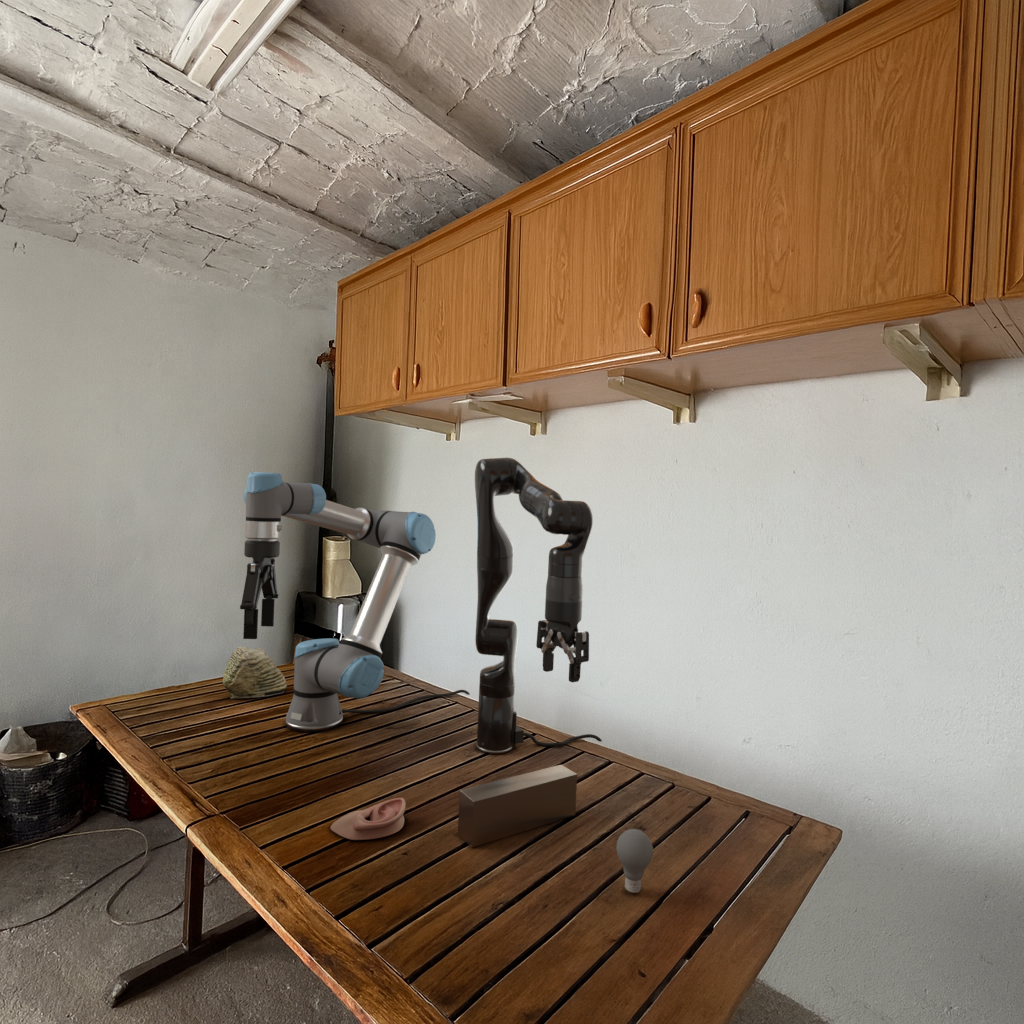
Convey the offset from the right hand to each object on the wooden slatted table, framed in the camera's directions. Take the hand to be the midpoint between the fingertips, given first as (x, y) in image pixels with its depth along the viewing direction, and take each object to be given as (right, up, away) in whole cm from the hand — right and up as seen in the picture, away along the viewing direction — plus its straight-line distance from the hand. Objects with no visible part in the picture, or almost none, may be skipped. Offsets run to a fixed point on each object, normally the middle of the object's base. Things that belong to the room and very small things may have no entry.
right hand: (560, 676), depth 130 cm
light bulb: (+10, -30, -25) cm, 40 cm away
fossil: (-91, -24, +68) cm, 116 cm away
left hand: (-68, +6, +15) cm, 70 cm away
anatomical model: (-38, -27, -8) cm, 47 cm away
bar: (-9, -28, -4) cm, 30 cm away
